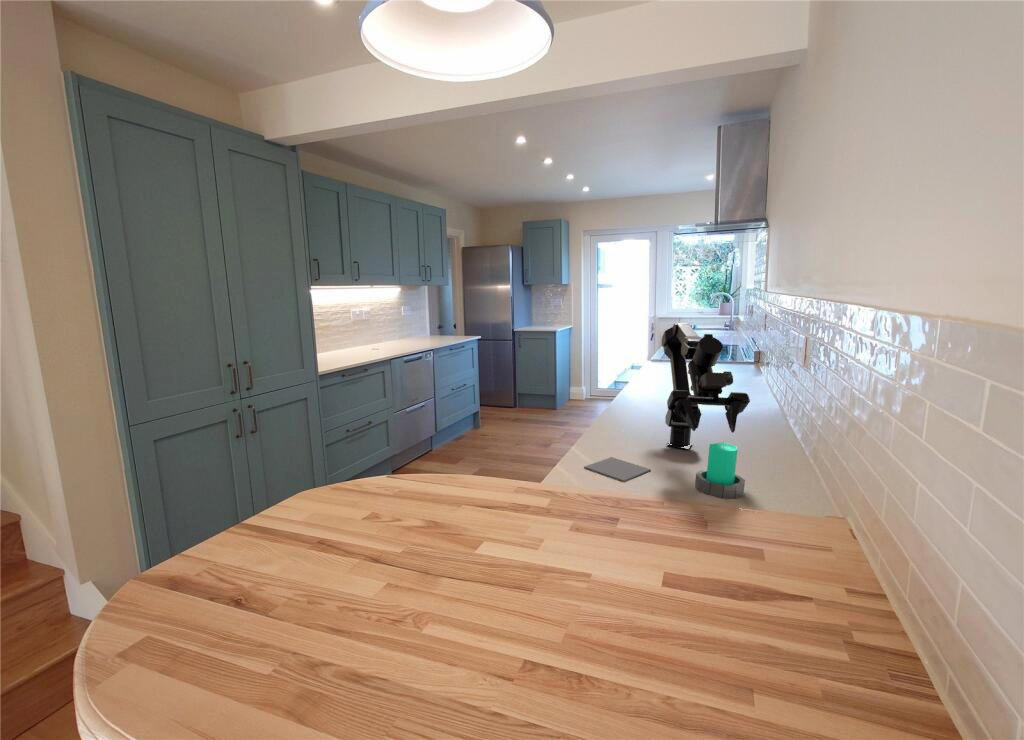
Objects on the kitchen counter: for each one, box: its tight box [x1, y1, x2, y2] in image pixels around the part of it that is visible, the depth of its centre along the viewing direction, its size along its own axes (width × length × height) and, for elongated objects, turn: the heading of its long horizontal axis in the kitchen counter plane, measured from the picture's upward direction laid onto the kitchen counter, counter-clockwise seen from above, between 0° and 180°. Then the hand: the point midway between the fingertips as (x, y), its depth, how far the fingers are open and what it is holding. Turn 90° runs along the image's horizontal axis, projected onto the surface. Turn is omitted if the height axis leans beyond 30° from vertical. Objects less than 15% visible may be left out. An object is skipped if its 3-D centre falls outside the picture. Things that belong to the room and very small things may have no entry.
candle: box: [706, 441, 738, 484], centre depth 111 cm, size 6×6×12 cm
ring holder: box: [694, 468, 746, 500], centre depth 112 cm, size 10×10×3 cm
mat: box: [583, 456, 652, 483], centre depth 123 cm, size 12×12×1 cm
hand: (713, 430), depth 116 cm, fingers open, 9 cm apart
